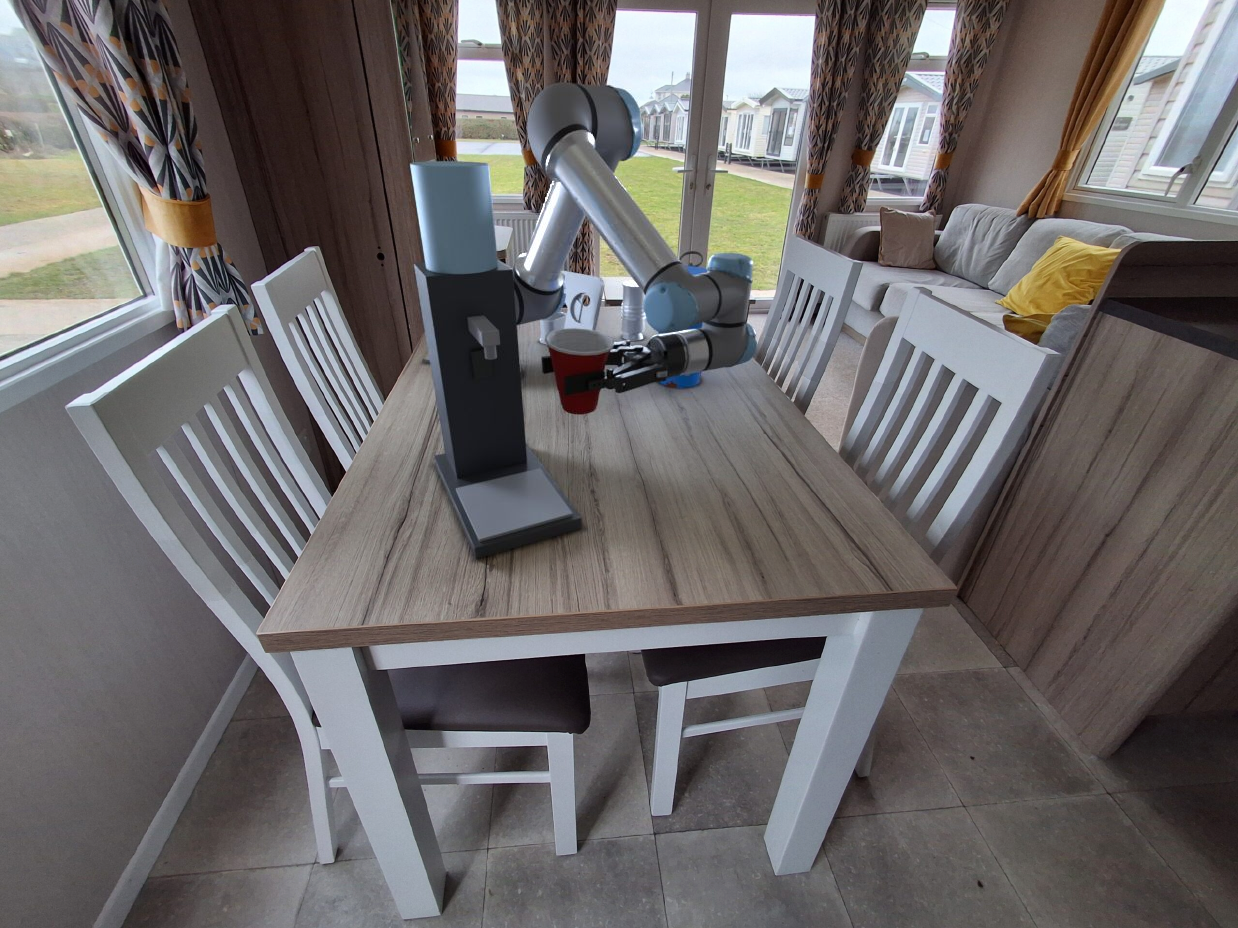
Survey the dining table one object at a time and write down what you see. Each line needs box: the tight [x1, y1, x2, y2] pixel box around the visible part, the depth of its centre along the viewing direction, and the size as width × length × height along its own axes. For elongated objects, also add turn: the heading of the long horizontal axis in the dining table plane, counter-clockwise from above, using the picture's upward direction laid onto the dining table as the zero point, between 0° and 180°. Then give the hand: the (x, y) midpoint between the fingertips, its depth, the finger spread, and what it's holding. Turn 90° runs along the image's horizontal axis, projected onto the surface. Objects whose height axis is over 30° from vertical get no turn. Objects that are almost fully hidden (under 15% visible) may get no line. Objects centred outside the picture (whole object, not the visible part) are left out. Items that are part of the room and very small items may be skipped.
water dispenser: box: [409, 160, 583, 560], centre depth 79 cm, size 28×16×47 cm, turn 27°
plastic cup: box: [545, 328, 615, 416], centre depth 89 cm, size 11×11×12 cm
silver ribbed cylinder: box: [620, 279, 646, 342], centre depth 155 cm, size 7×7×15 cm
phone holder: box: [539, 269, 605, 345], centre depth 149 cm, size 17×10×18 cm, turn 55°
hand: (553, 375), depth 87 cm, fingers closed on plastic cup, 9 cm apart
